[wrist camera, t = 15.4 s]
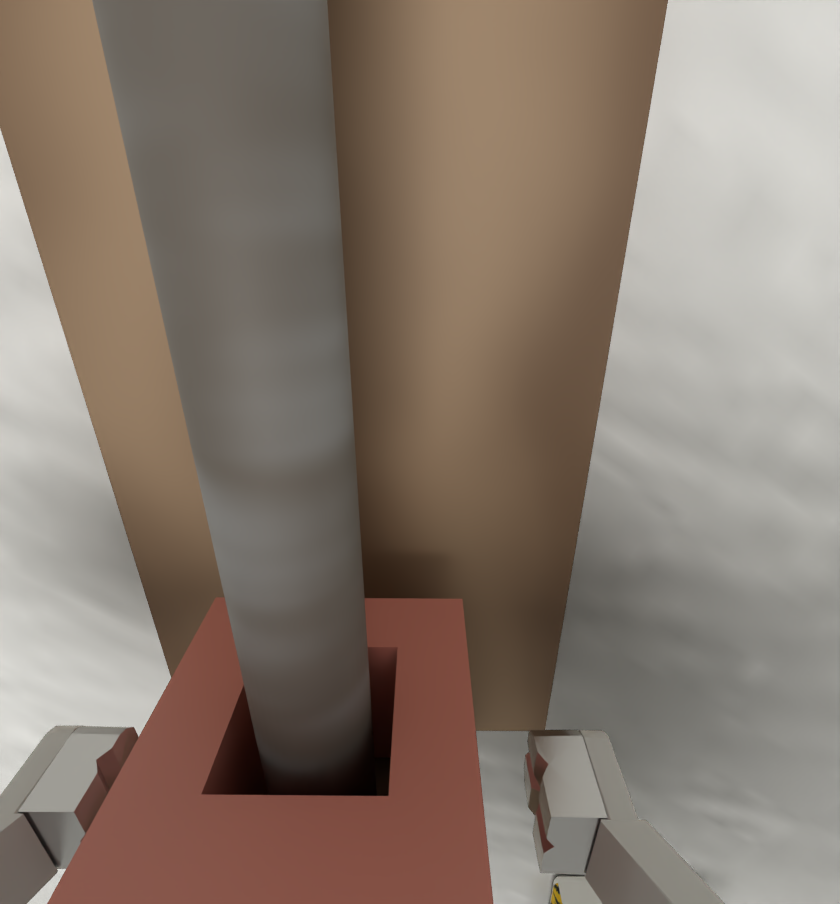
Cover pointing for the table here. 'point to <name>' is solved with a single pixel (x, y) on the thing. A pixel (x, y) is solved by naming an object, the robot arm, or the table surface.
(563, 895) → the medicine bottle
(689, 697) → the table surface
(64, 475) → the table surface
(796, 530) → the table surface
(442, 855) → the square nut
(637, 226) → the table surface
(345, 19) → the rod stand
